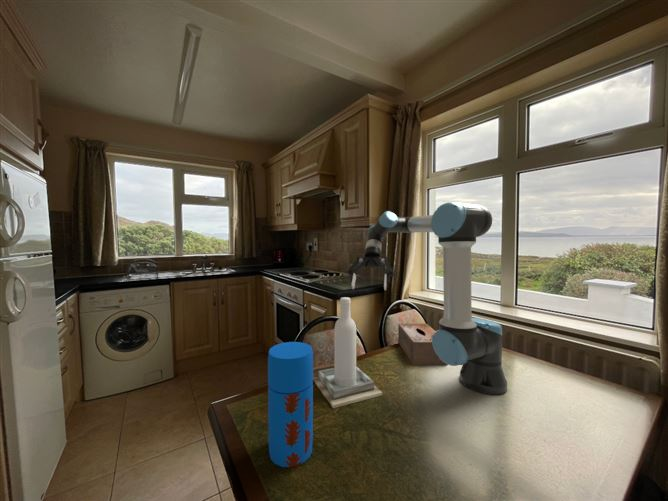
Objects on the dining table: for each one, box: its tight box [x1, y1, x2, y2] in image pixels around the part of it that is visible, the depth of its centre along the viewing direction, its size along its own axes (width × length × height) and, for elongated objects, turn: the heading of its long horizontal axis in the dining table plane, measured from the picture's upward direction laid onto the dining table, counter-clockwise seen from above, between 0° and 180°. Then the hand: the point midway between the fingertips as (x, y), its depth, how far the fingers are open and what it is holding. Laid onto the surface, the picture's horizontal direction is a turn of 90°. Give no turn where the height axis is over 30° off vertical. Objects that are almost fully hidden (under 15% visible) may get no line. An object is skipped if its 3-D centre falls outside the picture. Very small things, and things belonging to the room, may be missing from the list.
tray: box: [313, 363, 383, 409], centre depth 95 cm, size 20×18×4 cm
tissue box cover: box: [397, 323, 449, 366], centre depth 125 cm, size 26×14×10 cm, turn 0°
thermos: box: [267, 341, 314, 468], centre depth 66 cm, size 11×11×25 cm
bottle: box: [333, 296, 357, 387], centre depth 95 cm, size 8×8×30 cm
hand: (368, 287), depth 112 cm, fingers open, 13 cm apart
